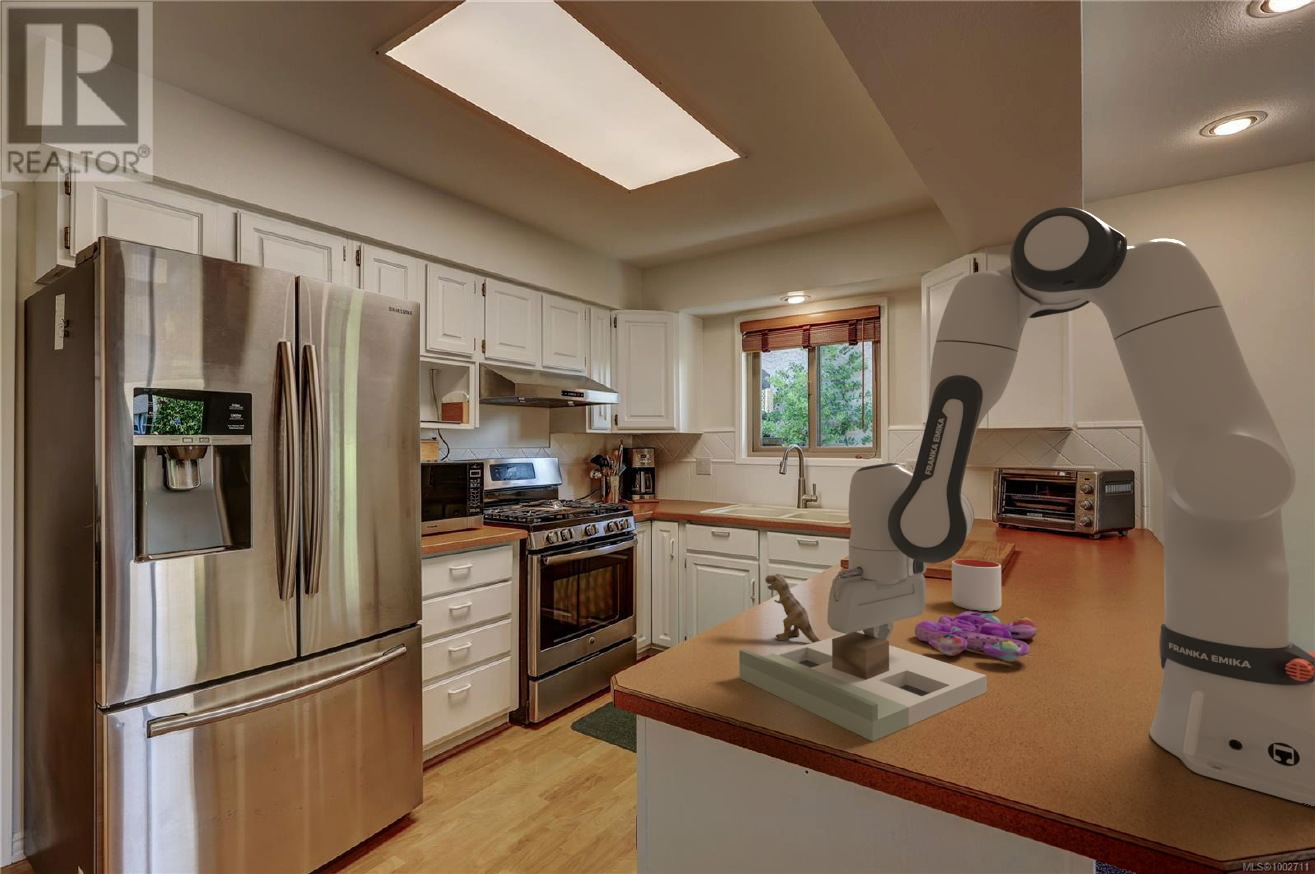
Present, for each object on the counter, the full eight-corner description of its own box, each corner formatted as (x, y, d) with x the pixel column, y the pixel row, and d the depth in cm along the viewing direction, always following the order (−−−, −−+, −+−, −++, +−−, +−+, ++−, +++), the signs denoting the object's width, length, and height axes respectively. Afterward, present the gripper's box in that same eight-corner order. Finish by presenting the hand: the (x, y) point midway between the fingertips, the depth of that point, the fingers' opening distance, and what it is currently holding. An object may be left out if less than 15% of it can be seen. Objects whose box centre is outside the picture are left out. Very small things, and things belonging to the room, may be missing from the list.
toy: (747, 602, 123) (775, 565, 121) (819, 661, 118) (850, 623, 115) (737, 613, 117) (767, 574, 114) (813, 676, 112) (845, 636, 109)
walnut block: (889, 670, 93) (888, 641, 93) (866, 679, 89) (865, 649, 89) (855, 659, 98) (855, 631, 98) (832, 668, 94) (832, 639, 94)
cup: (1002, 605, 140) (1002, 561, 140) (1000, 615, 132) (999, 569, 132) (954, 599, 145) (954, 557, 146) (949, 609, 137) (949, 564, 137)
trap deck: (986, 692, 91) (986, 662, 91) (872, 741, 76) (872, 705, 76) (850, 646, 112) (849, 622, 112) (739, 678, 97) (739, 650, 97)
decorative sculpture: (894, 652, 111) (1016, 676, 96) (892, 625, 111) (1014, 645, 96) (955, 624, 130) (1064, 640, 116) (954, 601, 130) (1062, 615, 116)
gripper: (850, 575, 89) (850, 670, 89) (932, 560, 100) (933, 645, 100) (817, 568, 94) (817, 657, 94) (899, 555, 105) (899, 635, 105)
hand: (878, 651), depth 97 cm, fingers closed
